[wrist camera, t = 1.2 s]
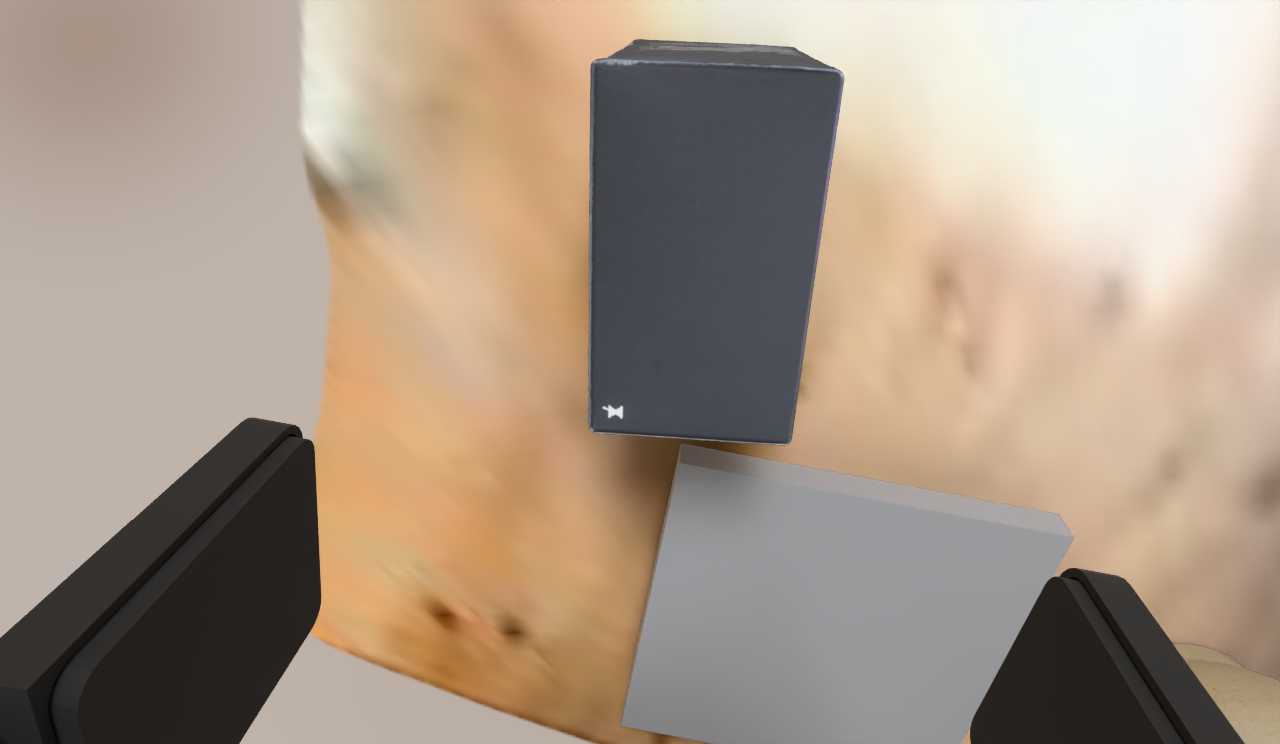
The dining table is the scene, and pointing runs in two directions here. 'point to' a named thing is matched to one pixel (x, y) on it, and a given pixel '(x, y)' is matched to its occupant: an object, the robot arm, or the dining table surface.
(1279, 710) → the planter bowl
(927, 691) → the stand
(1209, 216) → the dining table surface
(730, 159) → the small box
